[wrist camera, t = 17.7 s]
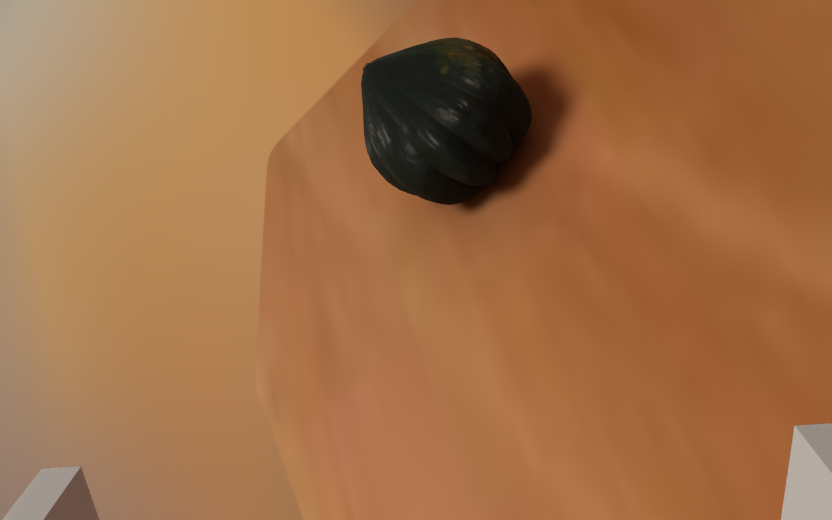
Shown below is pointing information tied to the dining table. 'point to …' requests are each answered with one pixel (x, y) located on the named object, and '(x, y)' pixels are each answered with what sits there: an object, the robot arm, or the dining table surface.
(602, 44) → the dining table surface
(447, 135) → the squash
